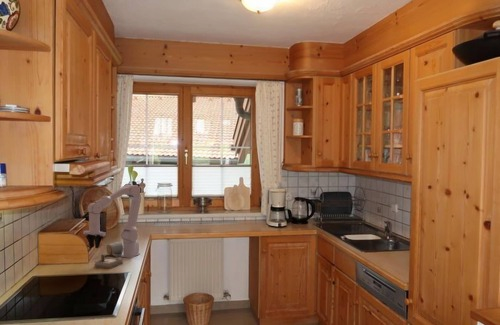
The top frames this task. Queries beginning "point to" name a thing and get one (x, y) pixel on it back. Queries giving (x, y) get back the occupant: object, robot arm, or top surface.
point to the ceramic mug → (115, 249)
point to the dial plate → (108, 265)
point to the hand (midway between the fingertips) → (94, 247)
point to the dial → (106, 259)
